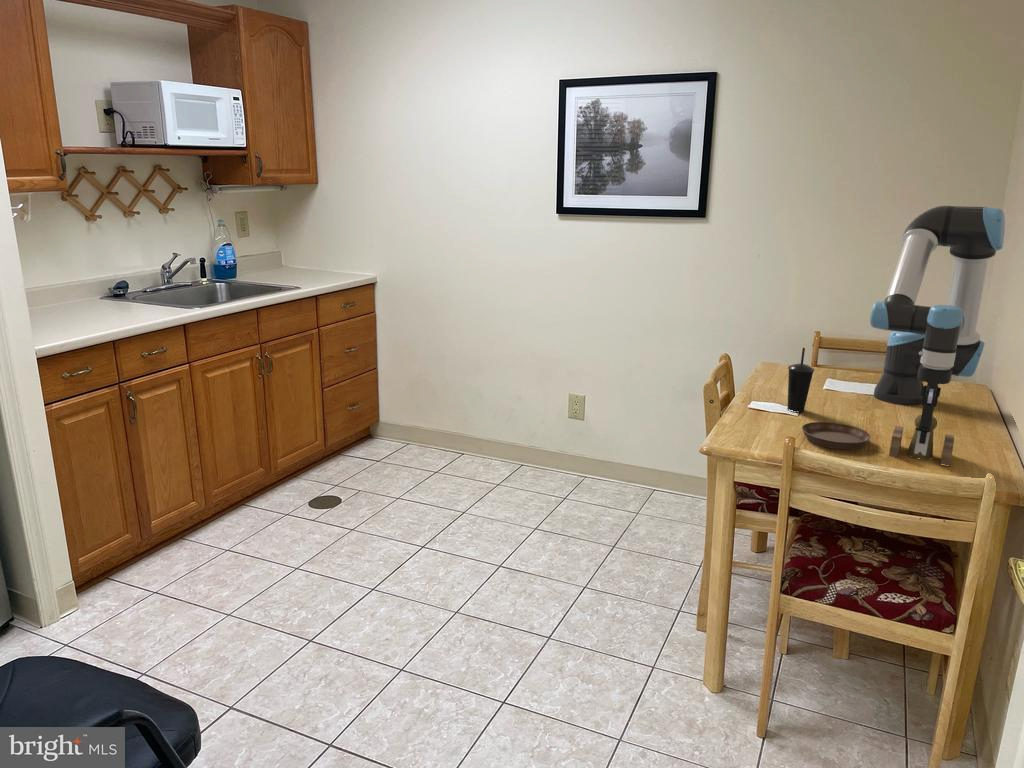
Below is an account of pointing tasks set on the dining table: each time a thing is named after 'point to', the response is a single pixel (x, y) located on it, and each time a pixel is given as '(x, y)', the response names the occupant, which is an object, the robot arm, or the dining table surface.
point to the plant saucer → (835, 435)
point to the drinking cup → (799, 384)
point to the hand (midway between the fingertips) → (920, 451)
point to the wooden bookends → (945, 452)
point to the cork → (930, 442)
